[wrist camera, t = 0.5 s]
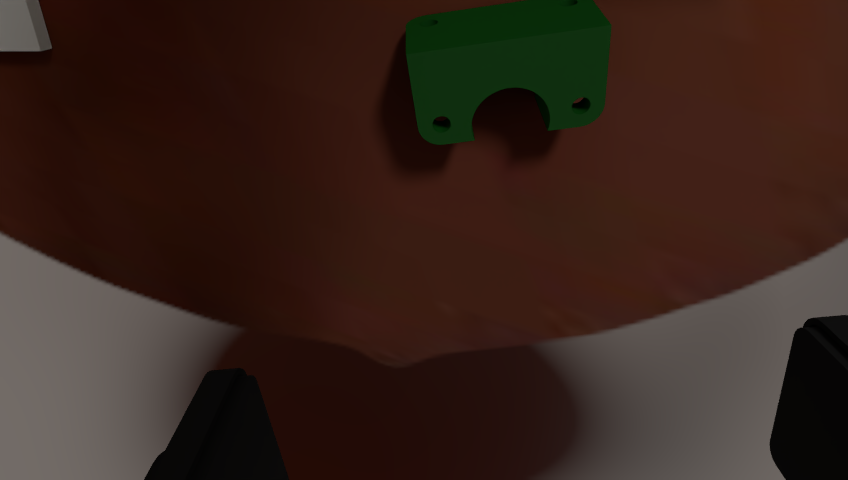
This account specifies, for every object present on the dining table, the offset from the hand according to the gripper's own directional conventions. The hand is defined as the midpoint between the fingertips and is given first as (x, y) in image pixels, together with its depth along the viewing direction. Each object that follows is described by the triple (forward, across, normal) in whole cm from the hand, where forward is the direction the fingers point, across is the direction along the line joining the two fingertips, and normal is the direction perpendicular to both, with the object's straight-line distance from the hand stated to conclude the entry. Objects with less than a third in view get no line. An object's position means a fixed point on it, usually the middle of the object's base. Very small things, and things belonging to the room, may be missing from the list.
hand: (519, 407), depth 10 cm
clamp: (+31, -3, 0) cm, 31 cm away
